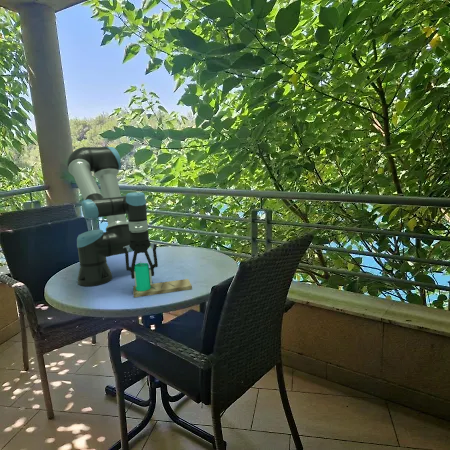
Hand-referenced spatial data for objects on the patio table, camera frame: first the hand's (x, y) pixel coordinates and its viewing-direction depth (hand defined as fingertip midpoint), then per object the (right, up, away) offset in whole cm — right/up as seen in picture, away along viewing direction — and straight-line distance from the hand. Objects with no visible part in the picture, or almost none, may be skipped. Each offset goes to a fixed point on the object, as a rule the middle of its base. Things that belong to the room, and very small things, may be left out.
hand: (143, 284), depth 141 cm
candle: (0, -2, 0) cm, 2 cm away
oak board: (+7, -3, +3) cm, 8 cm away
